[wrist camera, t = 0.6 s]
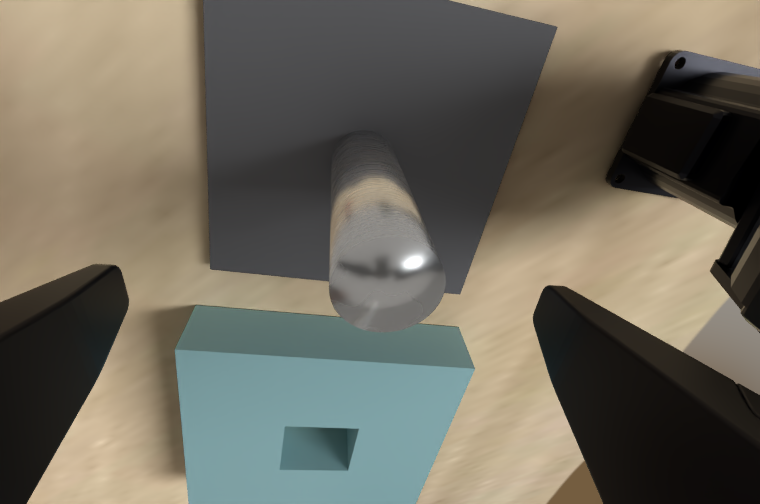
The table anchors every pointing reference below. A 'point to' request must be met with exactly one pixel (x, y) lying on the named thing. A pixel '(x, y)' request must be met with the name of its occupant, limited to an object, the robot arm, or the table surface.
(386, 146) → the steel pin
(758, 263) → the robot arm
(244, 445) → the teal square hole block
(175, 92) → the table surface
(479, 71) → the rubber mat
